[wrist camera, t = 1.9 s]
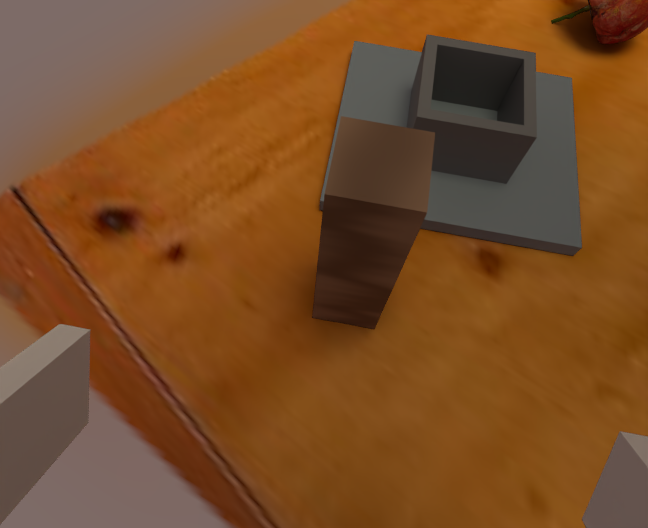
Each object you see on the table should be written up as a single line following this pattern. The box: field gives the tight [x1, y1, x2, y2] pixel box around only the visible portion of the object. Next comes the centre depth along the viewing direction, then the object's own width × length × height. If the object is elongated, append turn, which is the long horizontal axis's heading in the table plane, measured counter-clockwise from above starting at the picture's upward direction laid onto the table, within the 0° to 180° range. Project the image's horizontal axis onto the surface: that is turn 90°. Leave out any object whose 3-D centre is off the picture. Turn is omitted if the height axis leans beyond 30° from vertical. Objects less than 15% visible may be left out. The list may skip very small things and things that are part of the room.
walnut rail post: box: [312, 116, 435, 329], centre depth 26 cm, size 4×4×14 cm
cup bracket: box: [319, 35, 582, 256], centre depth 36 cm, size 18×16×6 cm
